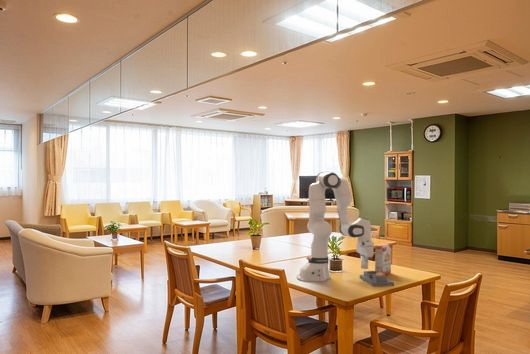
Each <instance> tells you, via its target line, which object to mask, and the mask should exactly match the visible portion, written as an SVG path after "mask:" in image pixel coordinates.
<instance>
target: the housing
mask: <svg viewBox="0 0 530 354" xmlns="http://www.w3.org/2000/svg"><path fill="white" fill-rule="evenodd" d="M376 273H379V272H378V271H375V270H364V271H363V274H359V279H360V280H362V281H363V282H365V283H367V284H369V285H371V286H372V287H382V286H394V285H395V282H394V281H393V280H391V279H389V278H388V276H387V275H384V274H383V276H377V275H376Z"/></svg>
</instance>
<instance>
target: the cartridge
mask: <svg viewBox="0 0 530 354" xmlns="http://www.w3.org/2000/svg"><path fill="white" fill-rule="evenodd" d="M360 269H362V270H368V269H369V262H368V263H366V262H365V256H364V255H362V254H361V257H360Z"/></svg>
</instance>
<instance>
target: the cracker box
mask: <svg viewBox="0 0 530 354" xmlns="http://www.w3.org/2000/svg"><path fill="white" fill-rule="evenodd" d="M374 247H375V248H374V249H375V250H374V252H375V253H374V254H375V255H374V257H375V258H374V271H378V272H379V273H383V274H384V275H386V276H387V275H390V274H391V273H392V272H391V271H392V268H391V267H392V244H391V243H387V242H382V243H380V244H379V243H378V244H376V245H375V244H374Z"/></svg>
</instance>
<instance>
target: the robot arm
mask: <svg viewBox="0 0 530 354" xmlns="http://www.w3.org/2000/svg"><path fill="white" fill-rule="evenodd" d="M327 189H331V190H332V191H333V194H334V198H335V202H336V208H337V214H338V218H339V228H338V229H339V232H340V234H341V235H342V236H344V237H349V238H351V239H352V238H357V242H356V247H355V248H356V250H355V251H356V253H358V254H359V256H360V258H361V254H362V255H364V256H365V262H366V263H368V264H369V258H373V257H374V247H375V243H374V241H373V240H372V236H371V231H372V230H371V229H372V227H371V226H372V225H371V221H370V220H369V219H368V218H365V217H364V218H363V217H359V218H358V219H357V220H355V221H353V222H351V221H350V220H349V216H348V215H349V214H348V207H349V206H350V205H351V204H352V202H353V197H352V196H353V195H352V192H351V188H350V186H349V184H348V182H347V180H346V179H345V178H342V177H339V176H338V174H336V173H335V172H334V171H333V172H332V171H322V172H319V173H318V174H317V175H316V177H315V180H314V182H313V183H311V184H309V187H308V207H309V213H308V214H309V216H308V222H307V225H306V228H307V231H308V232H309V233H310V234H312V235H313V237H312V238H313V239H312V243H311V244H310V246H311V247H310V249H311V250H310V256H309V255H308V256H306V260H307V263H305V264H304V265H302V267H301V268H300V269H299V274H296V278H297V280H299V281H302V282H326V281H327V280H329V279H331V275H330V272H329V271H330V269H329V262H330V261H329V255H328V254H329V252H328V251H329V248H328V246H329V241H330V236H331V235H332V233H333V226H332V225H331V223H329V222H328V221H326V220H325V215H326V211H327V207H326V206H327V204H326V190H327Z"/></svg>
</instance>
